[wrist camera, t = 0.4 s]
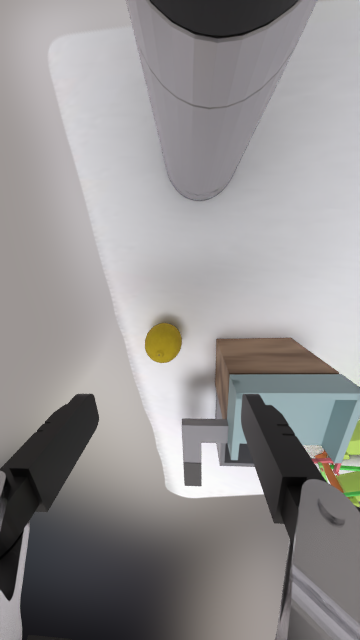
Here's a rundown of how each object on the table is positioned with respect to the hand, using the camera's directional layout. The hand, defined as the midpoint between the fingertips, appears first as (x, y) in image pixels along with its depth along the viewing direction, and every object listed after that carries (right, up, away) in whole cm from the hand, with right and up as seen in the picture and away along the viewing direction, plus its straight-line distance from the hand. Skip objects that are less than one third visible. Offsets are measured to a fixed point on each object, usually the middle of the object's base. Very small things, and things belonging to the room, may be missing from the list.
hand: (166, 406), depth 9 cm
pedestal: (+14, -3, +21) cm, 26 cm away
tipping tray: (+10, -11, +14) cm, 20 cm away
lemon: (-2, +3, +21) cm, 21 cm away
